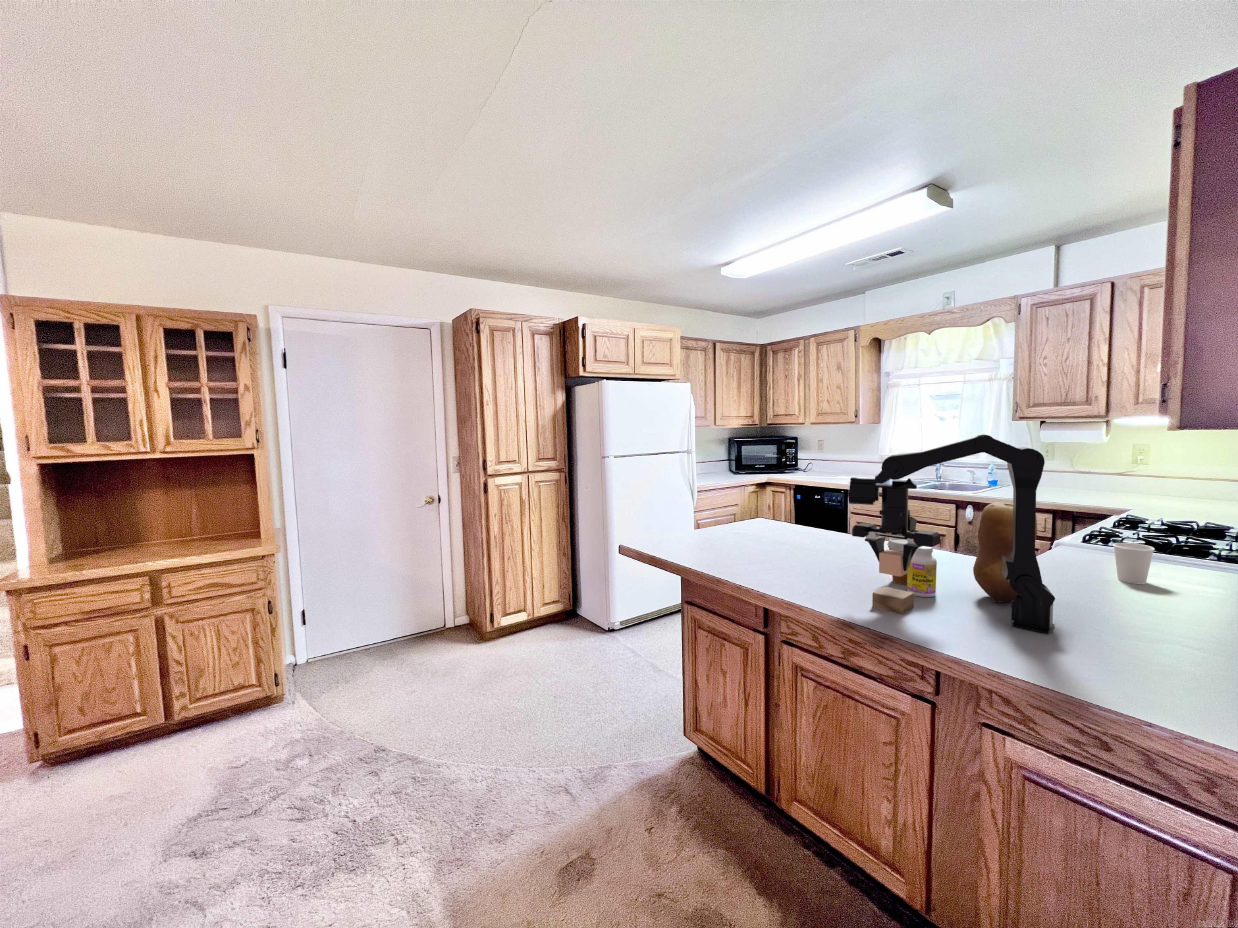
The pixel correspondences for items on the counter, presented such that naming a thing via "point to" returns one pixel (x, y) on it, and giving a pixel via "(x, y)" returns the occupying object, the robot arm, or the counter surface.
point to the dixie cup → (1132, 562)
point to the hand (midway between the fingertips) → (893, 568)
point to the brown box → (893, 600)
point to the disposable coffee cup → (898, 546)
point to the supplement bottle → (922, 573)
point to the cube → (892, 563)
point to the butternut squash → (995, 551)
